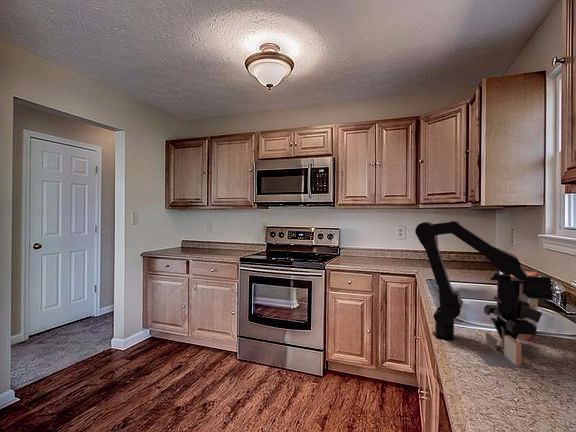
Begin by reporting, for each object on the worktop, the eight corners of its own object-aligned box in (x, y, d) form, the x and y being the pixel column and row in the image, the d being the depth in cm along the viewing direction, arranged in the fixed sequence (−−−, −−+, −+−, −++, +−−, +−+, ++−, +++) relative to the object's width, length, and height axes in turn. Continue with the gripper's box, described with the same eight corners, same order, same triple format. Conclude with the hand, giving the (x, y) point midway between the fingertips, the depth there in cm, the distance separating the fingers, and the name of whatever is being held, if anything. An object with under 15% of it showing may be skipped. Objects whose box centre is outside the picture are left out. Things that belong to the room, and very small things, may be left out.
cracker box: (528, 343, 103) (529, 278, 102) (506, 337, 107) (506, 275, 107) (538, 331, 112) (539, 272, 111) (517, 327, 117) (518, 269, 116)
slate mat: (476, 354, 95) (476, 352, 95) (508, 356, 94) (508, 354, 94) (488, 368, 87) (488, 365, 87) (524, 370, 86) (524, 368, 86)
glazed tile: (504, 355, 93) (504, 335, 93) (509, 356, 93) (509, 335, 93) (515, 365, 87) (515, 344, 87) (521, 366, 87) (521, 344, 87)
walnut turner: (507, 345, 101) (507, 330, 101) (516, 353, 96) (517, 337, 95) (485, 344, 102) (485, 329, 102) (494, 352, 96) (494, 336, 96)
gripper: (558, 305, 88) (557, 362, 88) (519, 288, 106) (519, 335, 106) (513, 304, 89) (513, 359, 90) (483, 287, 108) (483, 333, 108)
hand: (507, 346), depth 98 cm, fingers closed on walnut turner, 2 cm apart
